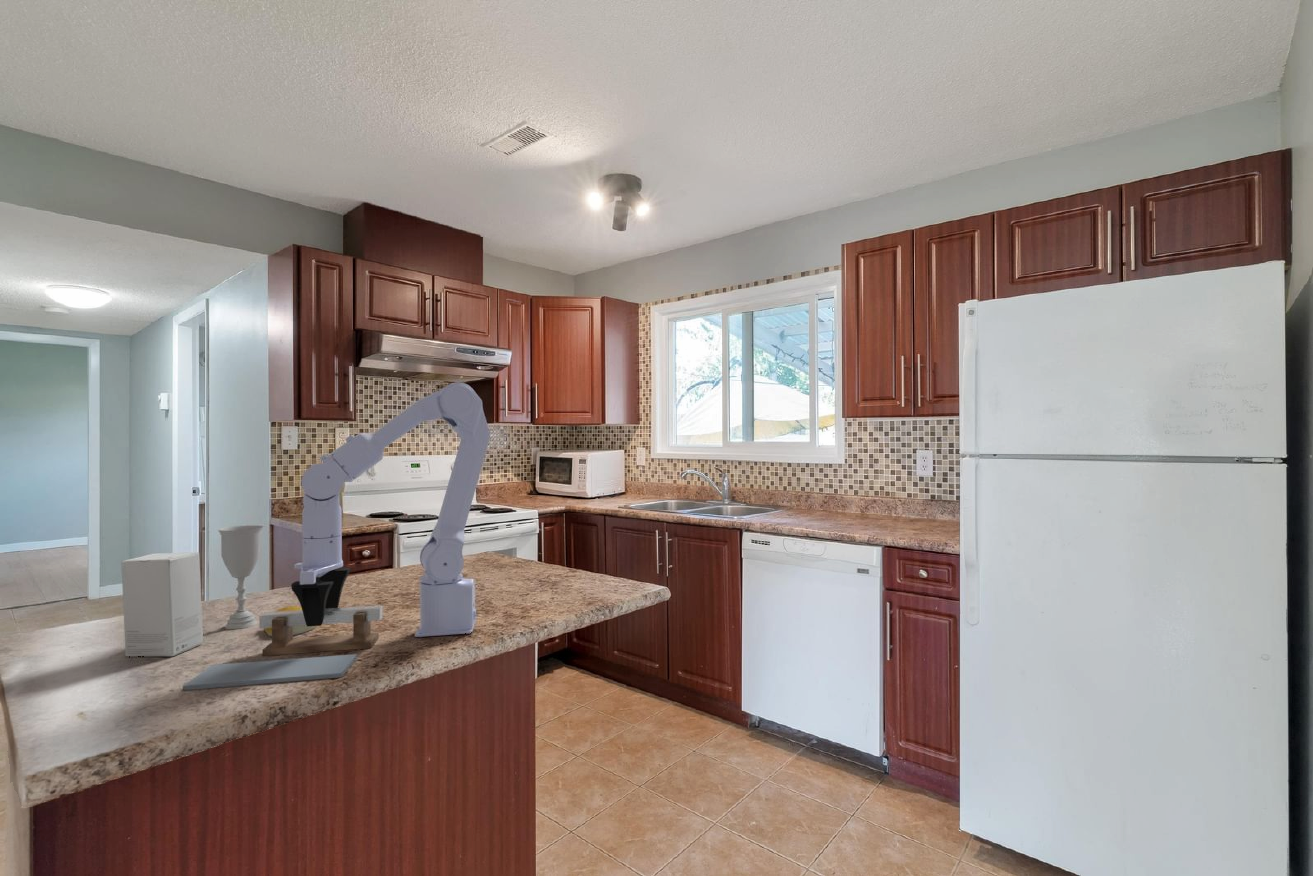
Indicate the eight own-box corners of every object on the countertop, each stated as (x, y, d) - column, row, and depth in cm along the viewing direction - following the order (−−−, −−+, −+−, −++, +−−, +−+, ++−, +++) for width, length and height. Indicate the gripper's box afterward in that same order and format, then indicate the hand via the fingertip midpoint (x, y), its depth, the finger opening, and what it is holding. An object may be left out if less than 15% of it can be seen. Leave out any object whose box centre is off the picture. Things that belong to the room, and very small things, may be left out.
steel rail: (382, 617, 103) (382, 605, 103) (379, 620, 101) (379, 608, 101) (264, 624, 100) (264, 612, 100) (259, 628, 98) (259, 615, 98)
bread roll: (269, 641, 104) (269, 618, 104) (261, 629, 111) (260, 607, 111) (323, 631, 110) (323, 609, 110) (312, 620, 116) (311, 599, 116)
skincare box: (204, 644, 102) (203, 551, 102) (170, 658, 96) (169, 559, 96) (156, 644, 103) (156, 551, 103) (120, 658, 96) (119, 559, 96)
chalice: (209, 628, 111) (208, 529, 111) (246, 618, 118) (245, 524, 118) (235, 632, 109) (235, 531, 109) (272, 622, 115) (272, 526, 115)
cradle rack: (378, 638, 104) (378, 606, 105) (371, 648, 100) (371, 614, 100) (275, 645, 101) (275, 612, 101) (262, 656, 96) (262, 621, 96)
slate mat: (357, 658, 95) (357, 654, 95) (341, 677, 87) (341, 673, 87) (212, 669, 91) (212, 665, 91) (182, 690, 83) (182, 686, 83)
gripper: (311, 531, 107) (311, 608, 107) (277, 544, 93) (277, 633, 92) (354, 529, 108) (354, 606, 108) (328, 542, 94) (328, 630, 94)
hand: (322, 618), depth 100 cm, fingers open, 7 cm apart
